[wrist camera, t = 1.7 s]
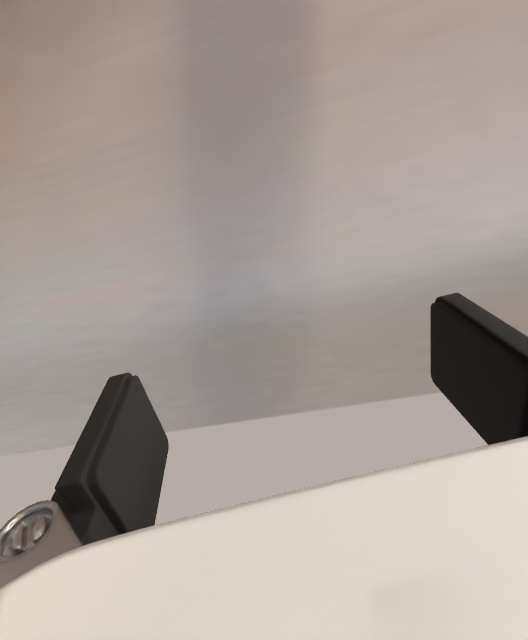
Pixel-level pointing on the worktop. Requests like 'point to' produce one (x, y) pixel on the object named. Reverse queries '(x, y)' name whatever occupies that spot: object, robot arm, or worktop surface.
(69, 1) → the worktop surface
